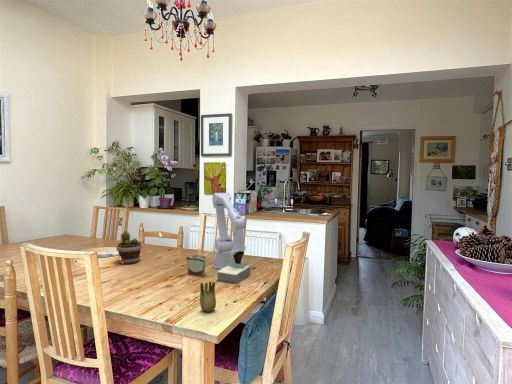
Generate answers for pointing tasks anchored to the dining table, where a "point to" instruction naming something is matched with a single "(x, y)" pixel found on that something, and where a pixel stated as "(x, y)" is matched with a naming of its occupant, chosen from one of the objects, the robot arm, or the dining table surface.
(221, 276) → the grey sliding-lid box
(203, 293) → the fennel bulb
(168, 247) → the dining table surface
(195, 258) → the food container
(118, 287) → the dining table surface
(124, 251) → the flowerpot
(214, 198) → the robot arm
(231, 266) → the lid
